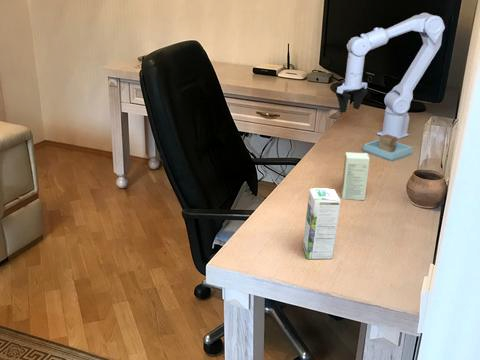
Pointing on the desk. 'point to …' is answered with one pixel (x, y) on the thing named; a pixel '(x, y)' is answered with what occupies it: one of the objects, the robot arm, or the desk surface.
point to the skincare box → (355, 176)
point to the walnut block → (388, 143)
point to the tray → (399, 152)
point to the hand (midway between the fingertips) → (349, 110)
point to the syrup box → (321, 223)
